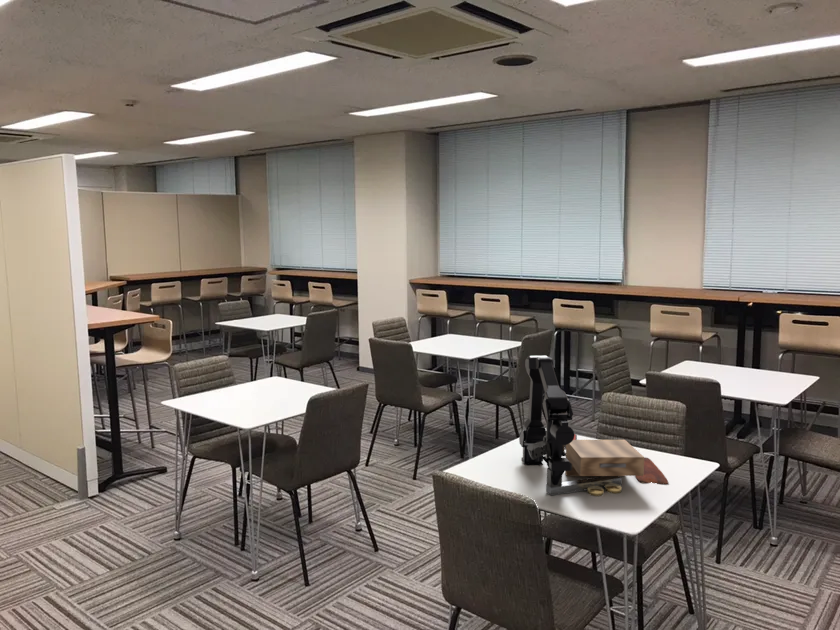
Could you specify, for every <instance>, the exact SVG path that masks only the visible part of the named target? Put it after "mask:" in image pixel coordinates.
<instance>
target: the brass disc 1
mask: <svg viewBox="0 0 840 630" xmlns="http://www.w3.org/2000/svg"><path fill="white" fill-rule="evenodd" d="M604 492H605V488H602V487H599V486H589V487H588V488H587V490H586V494H587V495H590V496H593V497H602V496H603V495H604Z"/></svg>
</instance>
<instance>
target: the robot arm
mask: <svg viewBox="0 0 840 630" xmlns="http://www.w3.org/2000/svg"><path fill="white" fill-rule="evenodd" d="M524 365H525V366H524V367H525V370H526V373H527V374H528V376H529V378H530V383H529V384H530V386H529V402H528V403H529V404H528V405H529V406H528V418H527V419H526V420H525V421H524V423H523V426H522V427H523V428H522V430H521V432H520V434H519V444H520V446H521V447H522V457H521V460H522V462H523V464H524V465H525V466H526V465H528V466H532V465H534V466H535V465H538V466H540V465H544V464H543V461H544V462H545V463H546V466H547V468H550V469H551V472H552V479H553V485H557V484H558V482H559V480H560V478H561V477H562V478H563V475H564V474H565V471H571V470H572V464H571V462H570V461H569V460H568V459H567V458H566V450H565V448H564V445H567V444H569V443H571V442H572V441H573V439H574V433H575V431H574V430H573V428H571V427H570V426H569V422H568V421H573V415H574V412H573V408H572V403H571V401H570V399H569V398H568V396H567V394H566V392H565V391H564V390H563V389H562V388H560V385H559V382H558V379H557V376H556V372H555V369H554V360H553V358H552V357H550V356H547V355H528V356H527V358H526V359H525V362H524ZM544 393H545V394H544ZM543 412H544V416H545V420H546V424H544V423H543V422H542V419H543V418H542V417H543Z"/></svg>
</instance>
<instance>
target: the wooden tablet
mask: <svg viewBox="0 0 840 630" xmlns="http://www.w3.org/2000/svg"><path fill="white" fill-rule="evenodd" d="M635 478H636V480H637V481H638V482H639V483H640V484H655V483H657V485H668V484H669V481H668V479H667V477H666V476H665V474H664V473H663V472H662V471H661V470H660V469H659V467H658V466H657V465H656V464H655V463H654V461H652V460H651V459H650V458H649V457H646V456H644V475H643V476H635ZM651 482H652V483H651Z"/></svg>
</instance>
